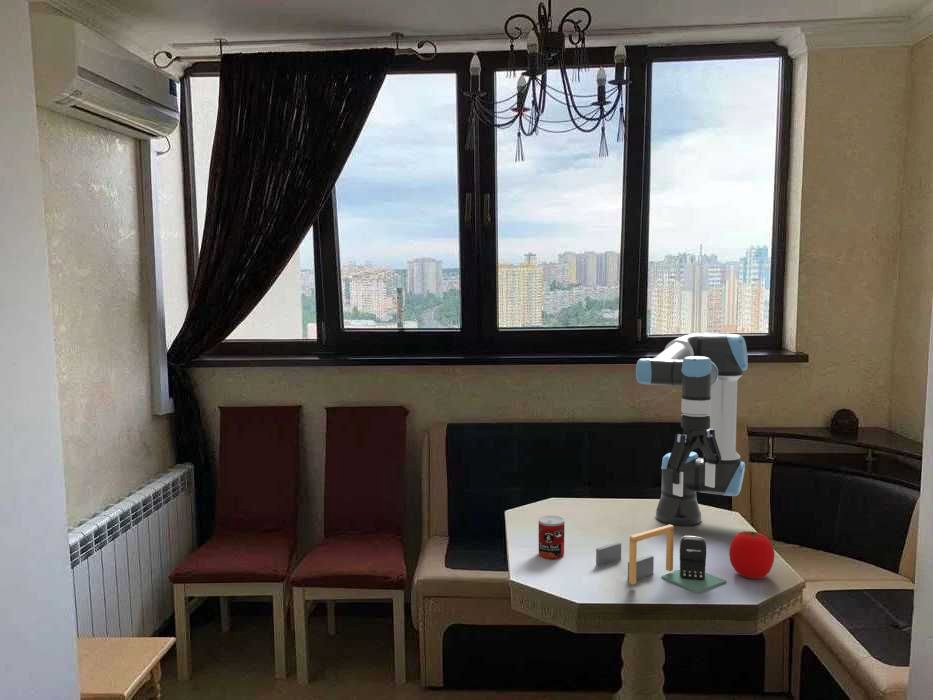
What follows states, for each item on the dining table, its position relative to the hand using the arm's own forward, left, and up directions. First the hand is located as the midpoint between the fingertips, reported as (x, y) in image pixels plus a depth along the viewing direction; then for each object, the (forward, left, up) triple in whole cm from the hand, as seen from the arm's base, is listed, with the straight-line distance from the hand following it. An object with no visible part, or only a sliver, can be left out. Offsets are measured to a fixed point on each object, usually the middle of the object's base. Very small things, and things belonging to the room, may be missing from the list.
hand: (694, 491), depth 188 cm
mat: (+1, +1, -25) cm, 25 cm away
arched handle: (+11, -5, -23) cm, 26 cm away
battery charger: (+1, +1, -24) cm, 24 cm away
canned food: (+21, -35, -25) cm, 48 cm away
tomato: (-15, +8, -25) cm, 30 cm away
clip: (+11, -15, -25) cm, 31 cm away
